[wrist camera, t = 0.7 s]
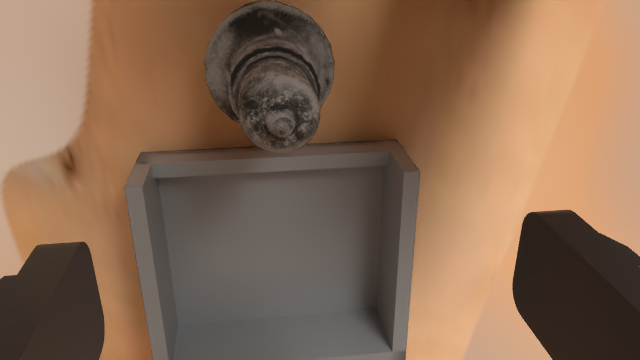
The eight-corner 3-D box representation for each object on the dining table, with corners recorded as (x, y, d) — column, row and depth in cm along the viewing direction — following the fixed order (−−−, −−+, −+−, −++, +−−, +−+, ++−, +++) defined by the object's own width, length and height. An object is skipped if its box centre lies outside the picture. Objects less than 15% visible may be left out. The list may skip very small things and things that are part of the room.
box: (140, 152, 29) (124, 188, 25) (396, 139, 31) (419, 171, 27) (167, 331, 34) (157, 385, 30) (386, 312, 36) (405, 361, 32)
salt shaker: (278, 130, 30) (299, 244, 19) (185, 65, 28) (149, 150, 17) (347, 43, 28) (412, 112, 18) (254, -33, 26) (263, -7, 16)
